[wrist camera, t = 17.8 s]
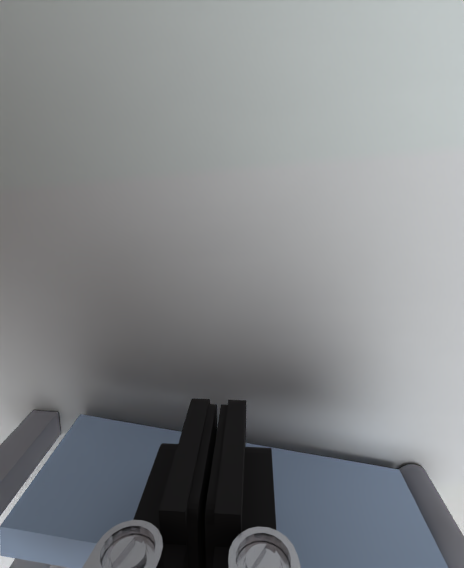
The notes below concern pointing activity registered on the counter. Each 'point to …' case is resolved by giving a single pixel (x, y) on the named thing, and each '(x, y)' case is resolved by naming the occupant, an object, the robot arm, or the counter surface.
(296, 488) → the cover
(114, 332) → the counter surface
